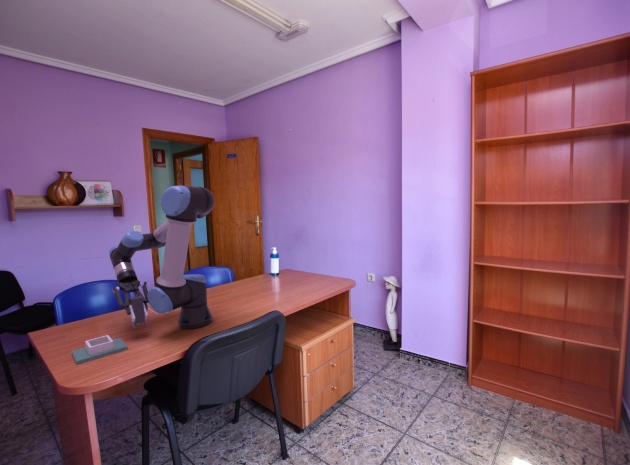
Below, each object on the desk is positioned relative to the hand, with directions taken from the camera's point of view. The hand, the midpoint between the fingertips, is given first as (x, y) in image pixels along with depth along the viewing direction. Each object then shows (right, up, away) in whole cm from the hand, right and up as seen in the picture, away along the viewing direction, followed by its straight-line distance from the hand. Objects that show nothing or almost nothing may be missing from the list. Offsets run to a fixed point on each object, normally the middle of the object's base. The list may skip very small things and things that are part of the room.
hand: (140, 318), depth 131 cm
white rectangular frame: (-11, -7, +42) cm, 44 cm away
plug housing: (-2, -4, +3) cm, 5 cm away
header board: (-10, -10, -9) cm, 17 cm away
